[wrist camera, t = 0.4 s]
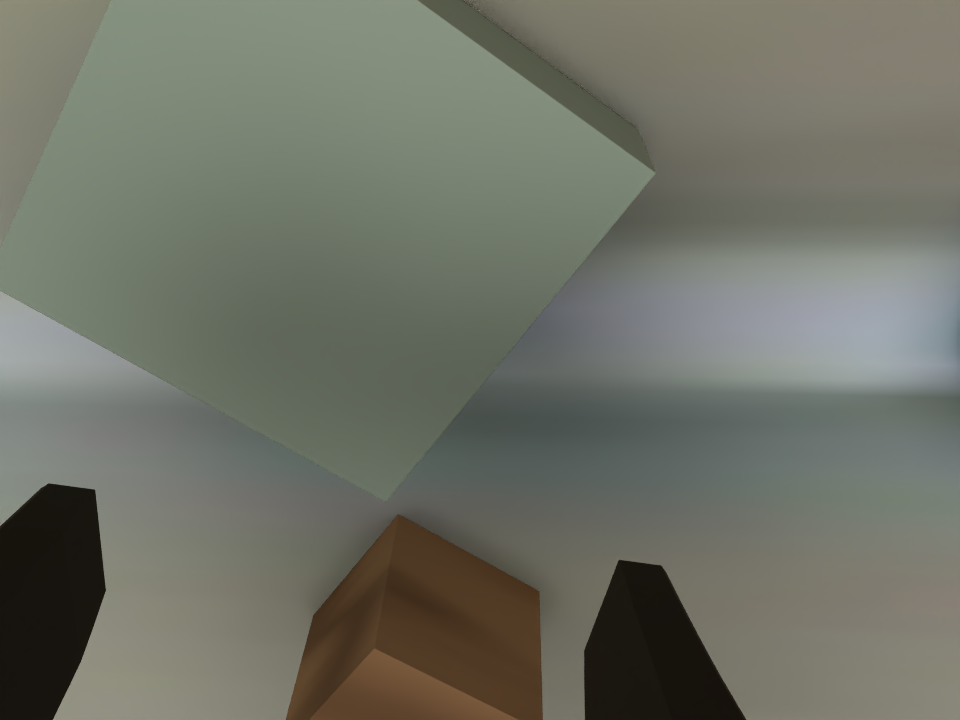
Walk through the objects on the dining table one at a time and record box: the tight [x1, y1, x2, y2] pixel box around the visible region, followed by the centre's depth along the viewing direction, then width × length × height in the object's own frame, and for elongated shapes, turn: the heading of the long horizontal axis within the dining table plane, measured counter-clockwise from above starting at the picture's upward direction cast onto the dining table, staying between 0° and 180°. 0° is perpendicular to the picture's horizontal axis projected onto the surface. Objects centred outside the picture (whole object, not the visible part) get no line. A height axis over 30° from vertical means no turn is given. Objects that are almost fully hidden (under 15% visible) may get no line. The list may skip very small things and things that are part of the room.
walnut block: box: [286, 515, 543, 720], centre depth 25 cm, size 5×5×5 cm
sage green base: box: [0, 0, 656, 502], centre depth 20 cm, size 10×10×3 cm
